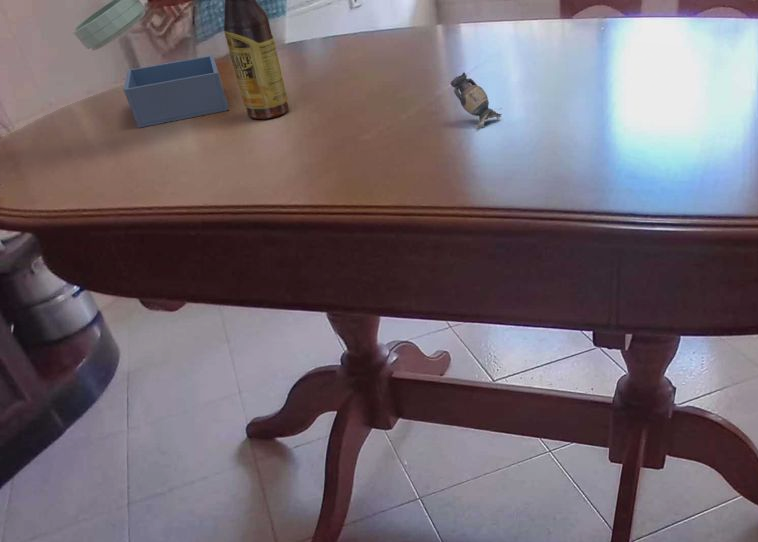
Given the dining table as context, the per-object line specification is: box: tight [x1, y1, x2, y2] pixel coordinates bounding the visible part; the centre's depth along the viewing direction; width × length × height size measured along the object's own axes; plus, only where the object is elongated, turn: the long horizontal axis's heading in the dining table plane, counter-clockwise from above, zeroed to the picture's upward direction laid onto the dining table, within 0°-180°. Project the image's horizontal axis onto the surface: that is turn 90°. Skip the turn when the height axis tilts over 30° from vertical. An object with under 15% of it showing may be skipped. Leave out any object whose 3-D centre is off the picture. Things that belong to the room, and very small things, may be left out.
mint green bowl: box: [71, 0, 146, 51], centre depth 89 cm, size 9×9×3 cm
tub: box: [123, 54, 230, 129], centre depth 108 cm, size 13×13×6 cm
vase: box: [450, 72, 503, 132], centre depth 90 cm, size 5×5×6 cm
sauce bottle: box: [223, 0, 290, 120], centre depth 97 cm, size 6×6×20 cm
